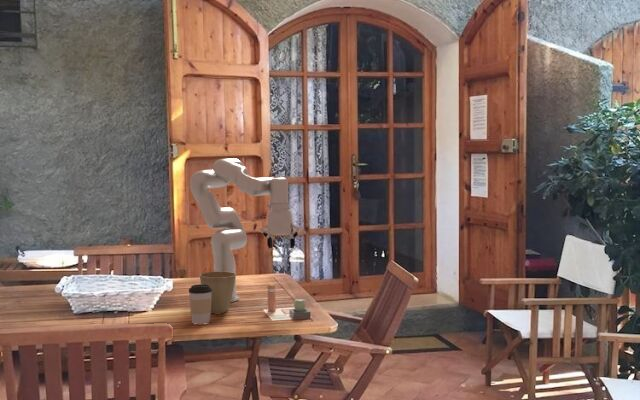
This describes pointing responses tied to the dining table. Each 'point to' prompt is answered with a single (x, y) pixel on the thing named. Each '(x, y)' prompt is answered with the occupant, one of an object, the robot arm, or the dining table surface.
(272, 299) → the marker
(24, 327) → the dining table surface
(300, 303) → the button
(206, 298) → the coffee cup
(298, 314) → the button housing
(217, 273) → the plant pot
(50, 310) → the dining table surface
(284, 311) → the colouring board
